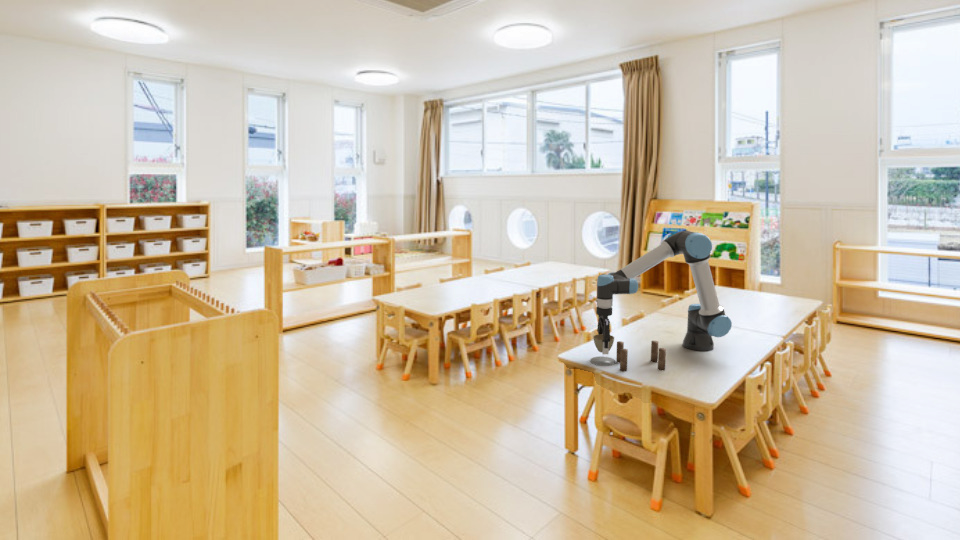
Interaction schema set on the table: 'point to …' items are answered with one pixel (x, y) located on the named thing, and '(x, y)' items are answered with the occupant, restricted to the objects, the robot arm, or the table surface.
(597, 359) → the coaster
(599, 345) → the olive grey bowl
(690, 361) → the table surface
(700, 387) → the table surface
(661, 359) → the posts
